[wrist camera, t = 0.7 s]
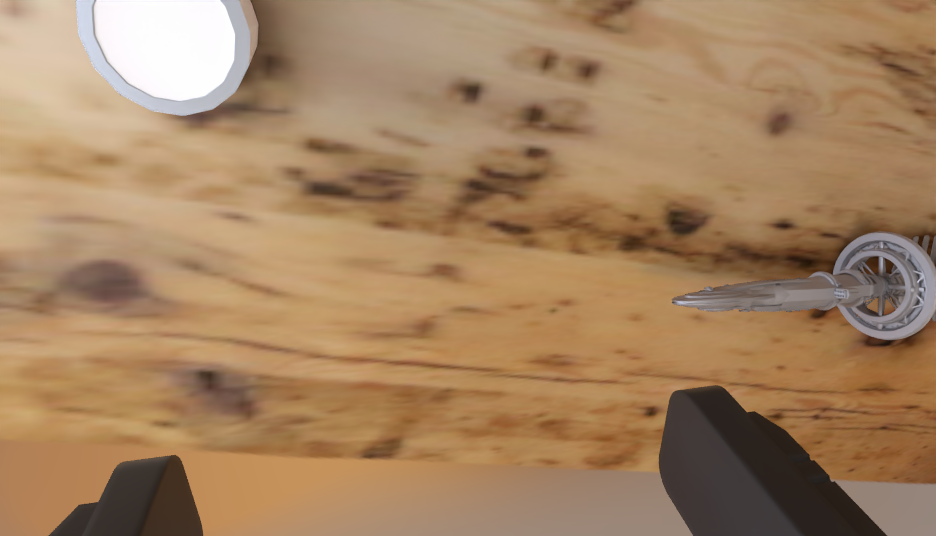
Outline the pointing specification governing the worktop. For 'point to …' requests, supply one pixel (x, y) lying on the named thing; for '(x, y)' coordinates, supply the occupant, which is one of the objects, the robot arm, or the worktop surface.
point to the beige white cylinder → (170, 49)
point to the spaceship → (846, 288)
